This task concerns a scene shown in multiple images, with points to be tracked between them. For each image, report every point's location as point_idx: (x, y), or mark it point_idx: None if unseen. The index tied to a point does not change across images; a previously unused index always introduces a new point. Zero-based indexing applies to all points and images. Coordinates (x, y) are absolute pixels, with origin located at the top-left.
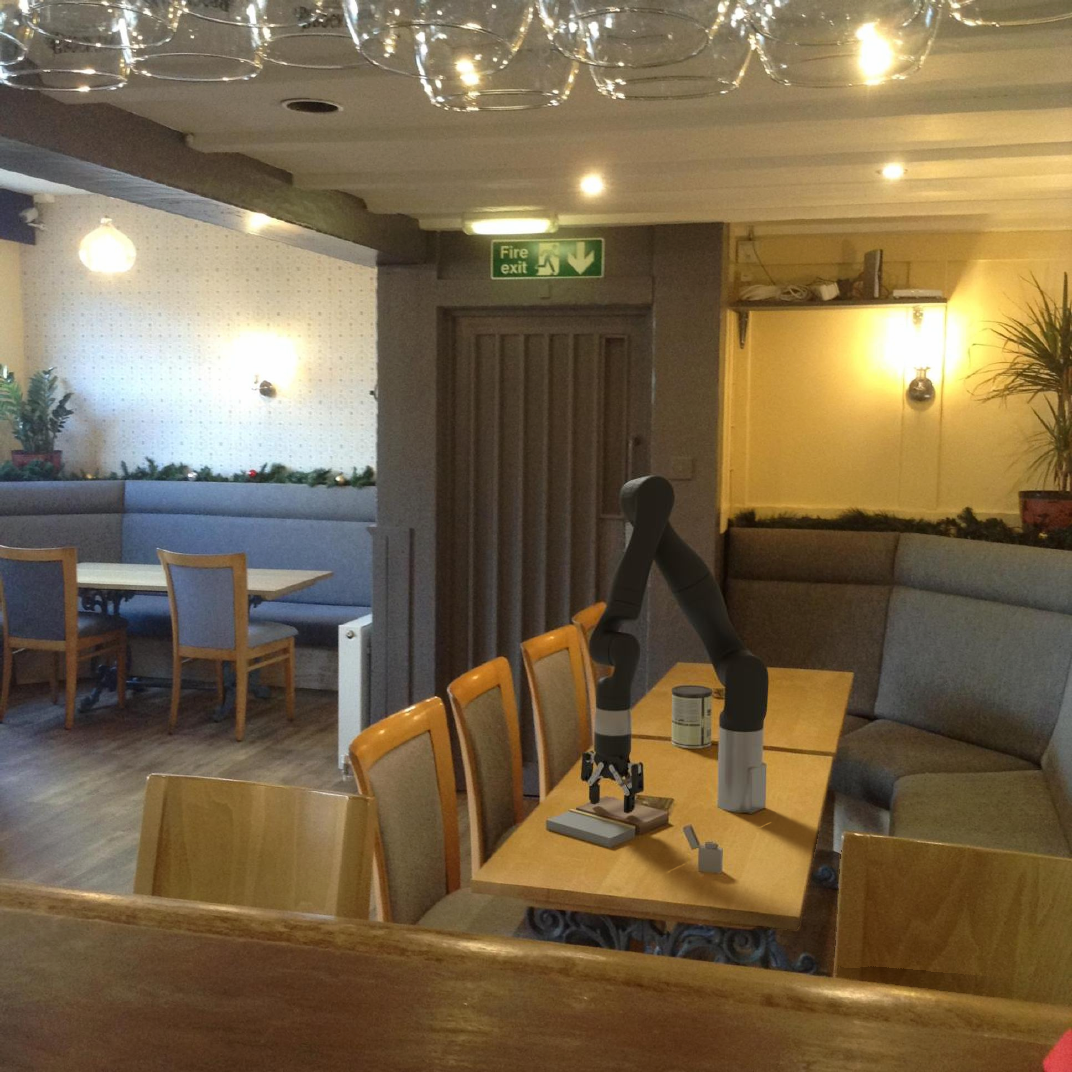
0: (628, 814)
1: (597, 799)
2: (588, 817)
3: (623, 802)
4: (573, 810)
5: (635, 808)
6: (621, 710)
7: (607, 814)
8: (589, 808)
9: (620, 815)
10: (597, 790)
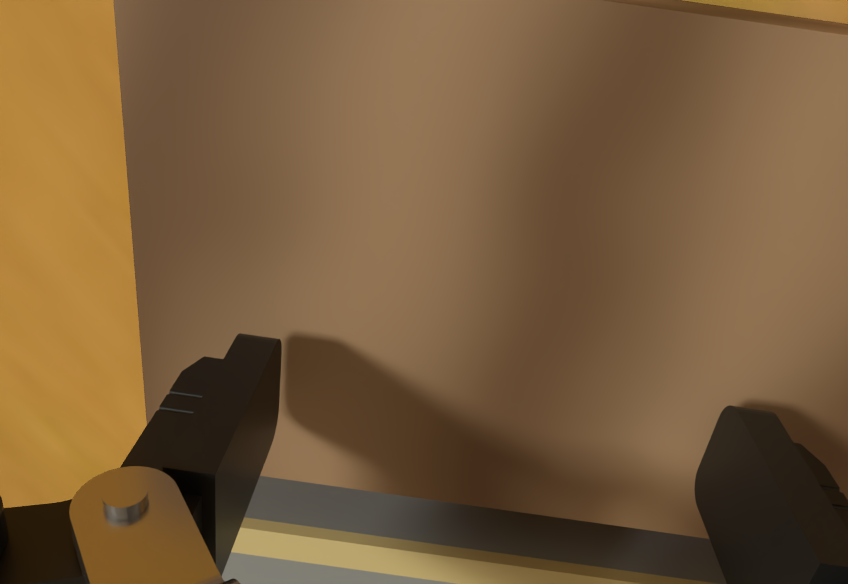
0: (705, 395)
1: (269, 387)
2: (392, 578)
3: (470, 58)
4: None
5: (712, 188)
6: None
7: (509, 482)
8: None
9: (638, 452)
10: (236, 465)
